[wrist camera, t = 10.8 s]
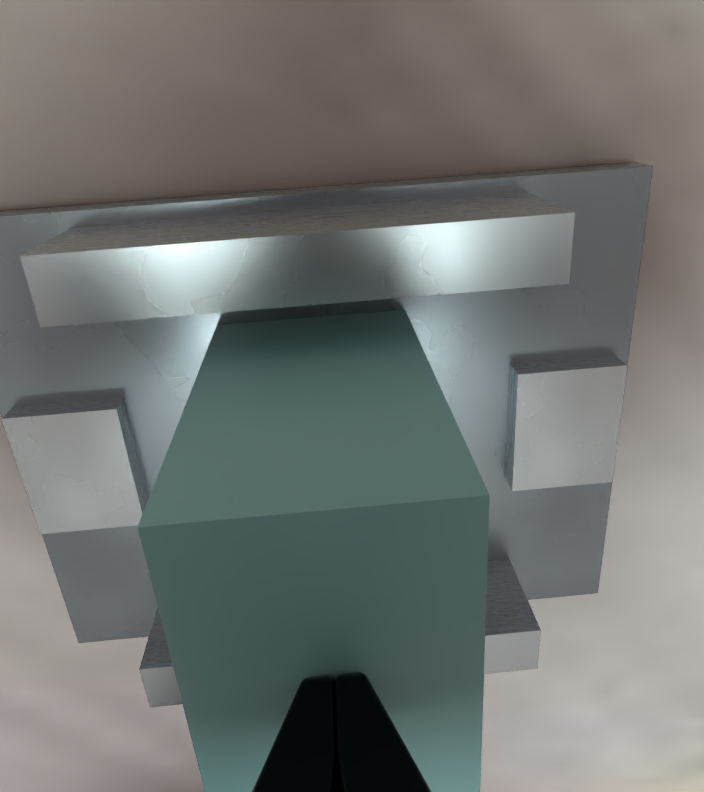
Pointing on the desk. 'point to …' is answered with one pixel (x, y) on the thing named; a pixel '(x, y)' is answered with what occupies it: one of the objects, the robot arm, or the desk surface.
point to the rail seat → (314, 297)
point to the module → (321, 543)
